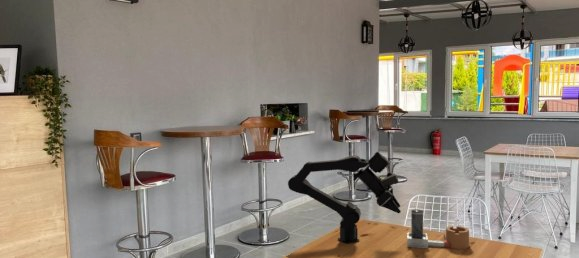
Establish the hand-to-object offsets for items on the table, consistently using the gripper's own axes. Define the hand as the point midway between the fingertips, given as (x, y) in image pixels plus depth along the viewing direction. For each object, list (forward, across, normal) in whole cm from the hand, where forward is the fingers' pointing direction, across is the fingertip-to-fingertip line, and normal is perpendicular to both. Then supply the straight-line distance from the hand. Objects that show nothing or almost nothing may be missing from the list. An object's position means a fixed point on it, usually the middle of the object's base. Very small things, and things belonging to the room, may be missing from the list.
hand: (399, 209), depth 178 cm
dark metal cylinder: (+12, 0, +3) cm, 13 cm away
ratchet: (+18, 0, +1) cm, 18 cm away
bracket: (+25, +6, -6) cm, 27 cm away
